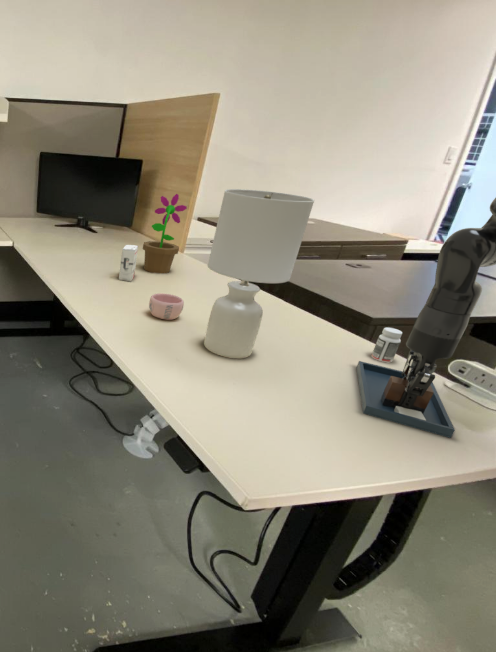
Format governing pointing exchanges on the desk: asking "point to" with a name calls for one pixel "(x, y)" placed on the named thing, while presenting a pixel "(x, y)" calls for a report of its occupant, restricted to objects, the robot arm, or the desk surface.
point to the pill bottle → (387, 345)
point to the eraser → (395, 393)
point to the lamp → (251, 261)
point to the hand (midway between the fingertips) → (402, 403)
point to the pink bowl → (165, 306)
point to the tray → (371, 393)
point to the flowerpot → (162, 252)
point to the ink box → (128, 262)
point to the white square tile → (409, 412)
